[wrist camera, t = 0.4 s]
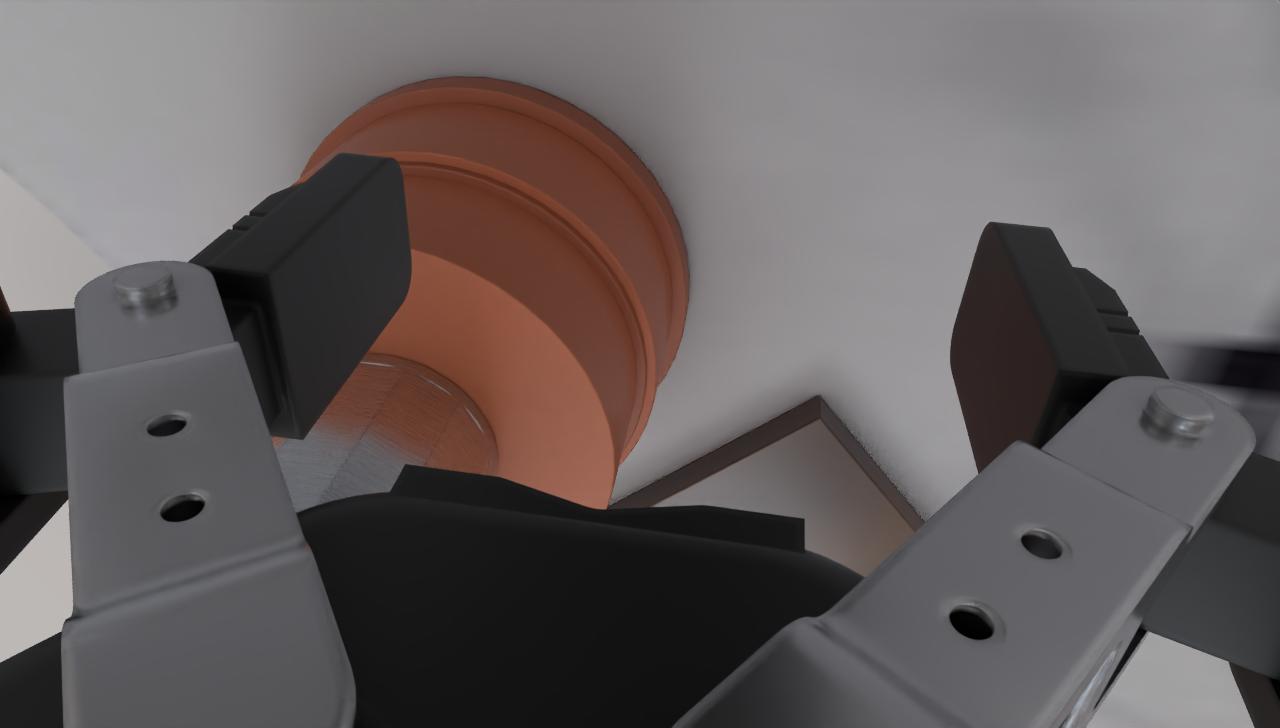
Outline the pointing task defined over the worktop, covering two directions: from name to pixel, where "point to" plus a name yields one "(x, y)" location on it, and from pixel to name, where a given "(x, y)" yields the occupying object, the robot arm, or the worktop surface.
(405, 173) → the terracotta flower pot
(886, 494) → the board
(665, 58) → the worktop surface
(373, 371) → the steel cup
